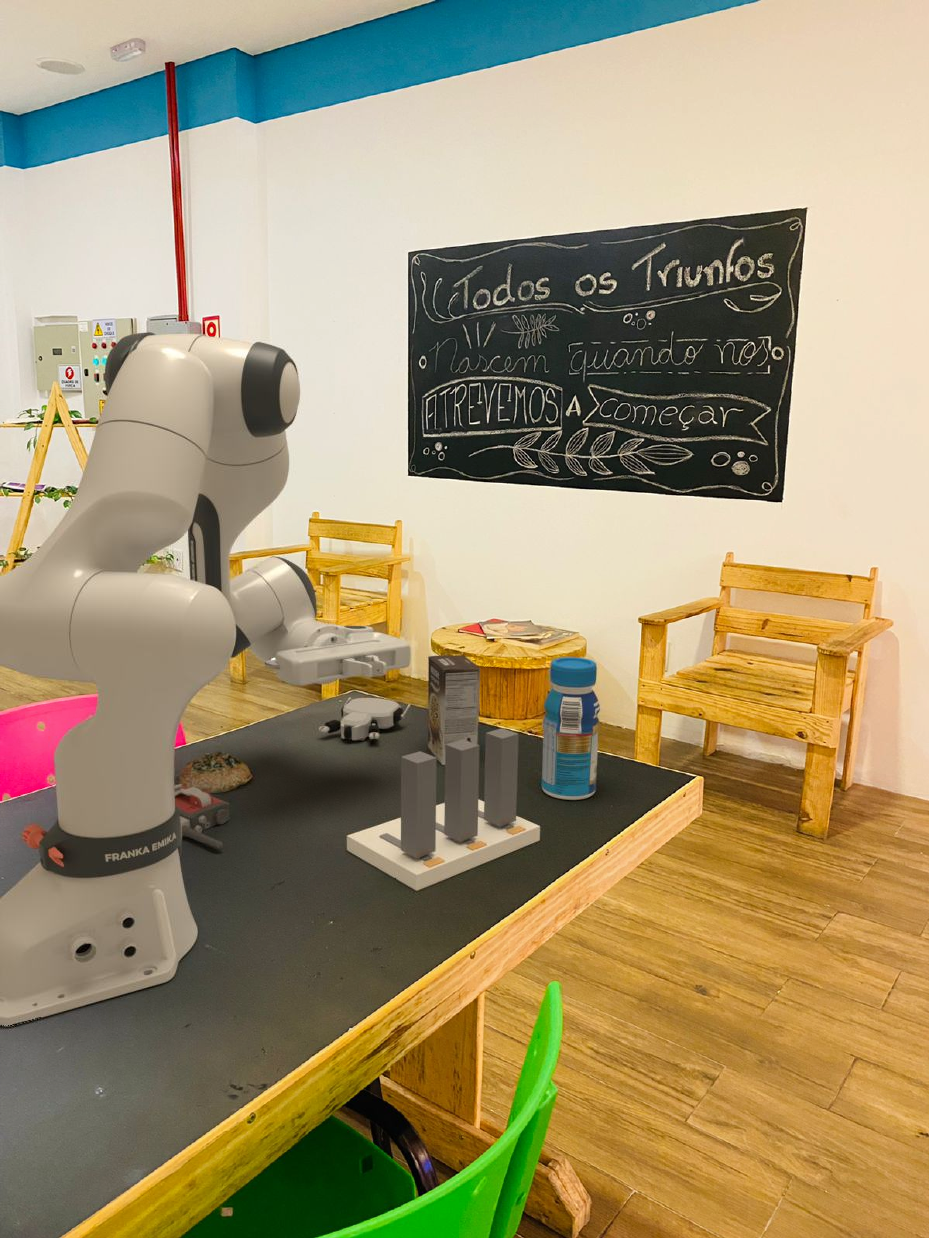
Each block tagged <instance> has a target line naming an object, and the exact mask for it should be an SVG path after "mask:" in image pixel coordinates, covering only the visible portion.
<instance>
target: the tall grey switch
mask: <svg viewBox="0 0 929 1238" xmlns="http://www.w3.org/2000/svg"><path fill="white" fill-rule="evenodd" d="M437 760H438V759H437V758H436V757H435V756H433V755H430V754H429V753H425V752H423V751H416V752H413V753H412V752H411V753H410V754H406V755H402V756H400V818H401V850H402V851H403V852H405V853H407V854H409V855H411V856H413V857H414V858H416V859H417V858H419V857H422V856H425V855H427V854H430V853H432V852H435V849H436V805H437Z"/></svg>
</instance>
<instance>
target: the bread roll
mask: <svg viewBox="0 0 929 1238" xmlns="http://www.w3.org/2000/svg"><path fill="white" fill-rule="evenodd" d="M252 778H253V774H251V772H250V768H249V767H248V765H247V764H246V763H244V762H243V761H242V760H240V759H239V758H238V757H236V756H232V755H231V754H230V753H229V752H225V753H222V751H221V750H218V751H216V752H215V753H210V752H209V753H206V754H205V755H204V756H202V757H199V758H197V759H194V760H192V761H190V762H188V763H186V765H185V766H184V767H183V768H182V769H181V771H180V772H179V774H178V777H177V784H181V785H184V786H187V787H189V788H191V787H195V788H198V789H200V790H201V791H205V792H208V793H210V794H219V793H220V794H221V793H226V792H228V791H229V792H230V791H231V790H235V789H236V788H238V787H240V786H243V785H246V784H247V783H248V782H250V780H251V779H252Z"/></svg>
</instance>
